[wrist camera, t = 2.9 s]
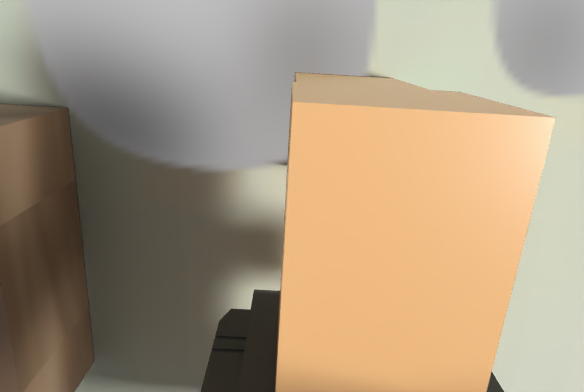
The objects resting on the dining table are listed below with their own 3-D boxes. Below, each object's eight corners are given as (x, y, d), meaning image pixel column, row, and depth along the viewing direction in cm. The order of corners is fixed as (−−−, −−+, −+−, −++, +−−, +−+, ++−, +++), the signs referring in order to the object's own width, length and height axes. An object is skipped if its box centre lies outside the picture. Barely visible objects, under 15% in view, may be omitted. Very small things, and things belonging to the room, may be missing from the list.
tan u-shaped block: (291, 68, 12) (292, 101, 5) (396, 75, 13) (555, 117, 5) (272, 401, 16) (257, 707, 9) (352, 405, 16) (405, 712, 9)
